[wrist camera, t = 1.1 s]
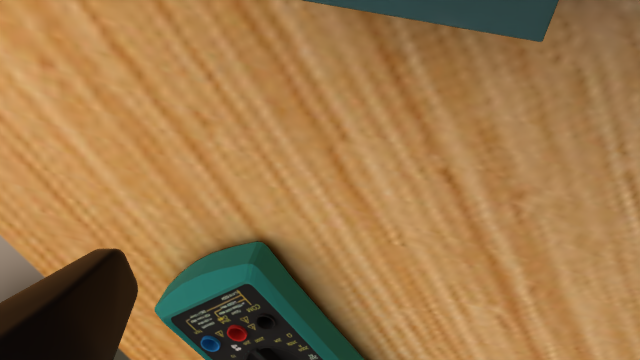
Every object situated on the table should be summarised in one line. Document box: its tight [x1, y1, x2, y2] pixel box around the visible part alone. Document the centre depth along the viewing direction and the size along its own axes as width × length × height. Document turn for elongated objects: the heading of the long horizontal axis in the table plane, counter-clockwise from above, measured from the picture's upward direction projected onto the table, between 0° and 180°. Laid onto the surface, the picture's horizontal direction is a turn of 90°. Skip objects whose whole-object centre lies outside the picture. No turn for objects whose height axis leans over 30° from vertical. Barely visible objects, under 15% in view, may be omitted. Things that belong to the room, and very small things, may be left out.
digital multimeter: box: [155, 241, 365, 360], centre depth 26 cm, size 7×15×3 cm, turn 35°
